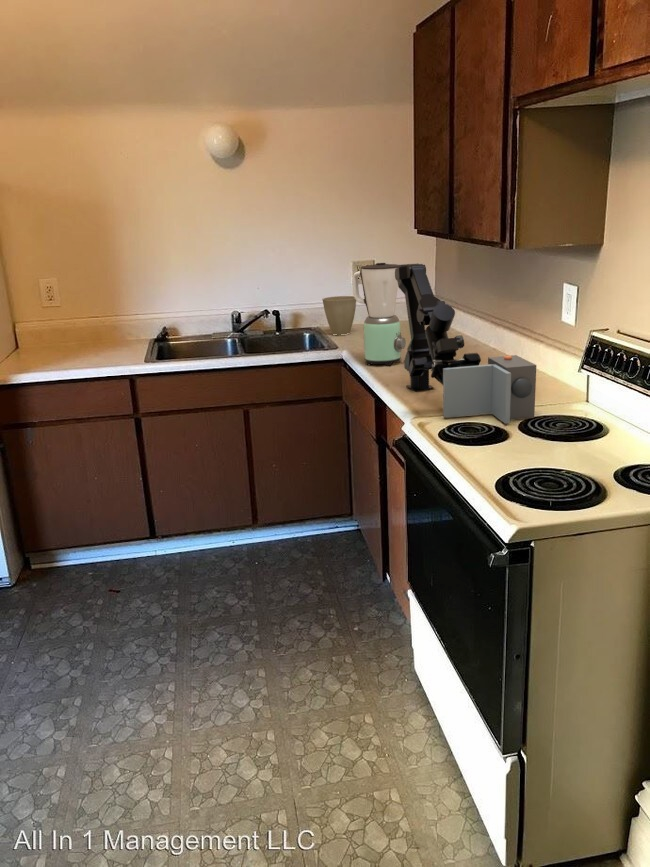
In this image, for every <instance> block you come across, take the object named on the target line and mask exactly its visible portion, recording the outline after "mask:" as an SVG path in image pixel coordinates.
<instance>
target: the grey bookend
mask: <svg viewBox="0 0 650 867" xmlns="http://www.w3.org/2000/svg"><path fill="white" fill-rule="evenodd" d="M442 387H443V388H442V392H443V393H442V394H443V395H442V398H443V400H442V414H443V415H442V416H443V417H444V418H445V419H446V418H448V419H449V418H458V417H466V416H467V417H468V416H477V415H478V416H479V415H489V414H492V415H493V416H495V417H496V418H497V419H498V420H499V421H501V422H502V423H504V424H510V423H511V420H510V398H511V373H510V372H508V371H506V370H505V369H503V368H501V367H499V366H498V365H496V364H489V365H488V364H479V365H477V366H466V367H461V366H460V367H454V368H443V385H442Z"/></svg>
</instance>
